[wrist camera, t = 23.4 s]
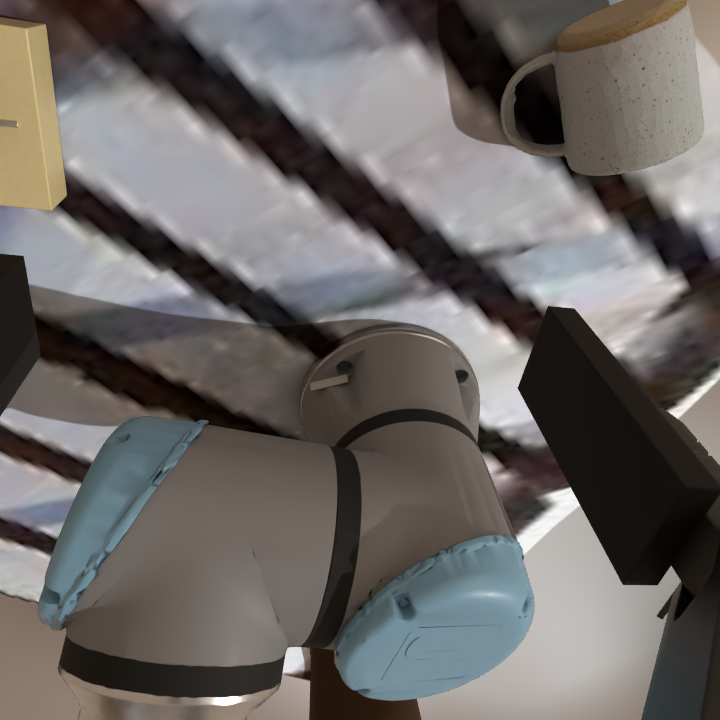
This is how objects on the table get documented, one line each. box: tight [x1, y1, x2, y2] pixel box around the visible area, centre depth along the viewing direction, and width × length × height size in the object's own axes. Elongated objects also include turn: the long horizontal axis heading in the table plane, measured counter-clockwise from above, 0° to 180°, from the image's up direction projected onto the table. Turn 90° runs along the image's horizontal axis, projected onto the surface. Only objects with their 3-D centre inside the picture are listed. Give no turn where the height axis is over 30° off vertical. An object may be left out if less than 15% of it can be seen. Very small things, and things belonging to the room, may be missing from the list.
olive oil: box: [309, 648, 421, 720], centre depth 55 cm, size 11×11×25 cm
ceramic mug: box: [500, 0, 704, 176], centre depth 35 cm, size 11×8×8 cm
